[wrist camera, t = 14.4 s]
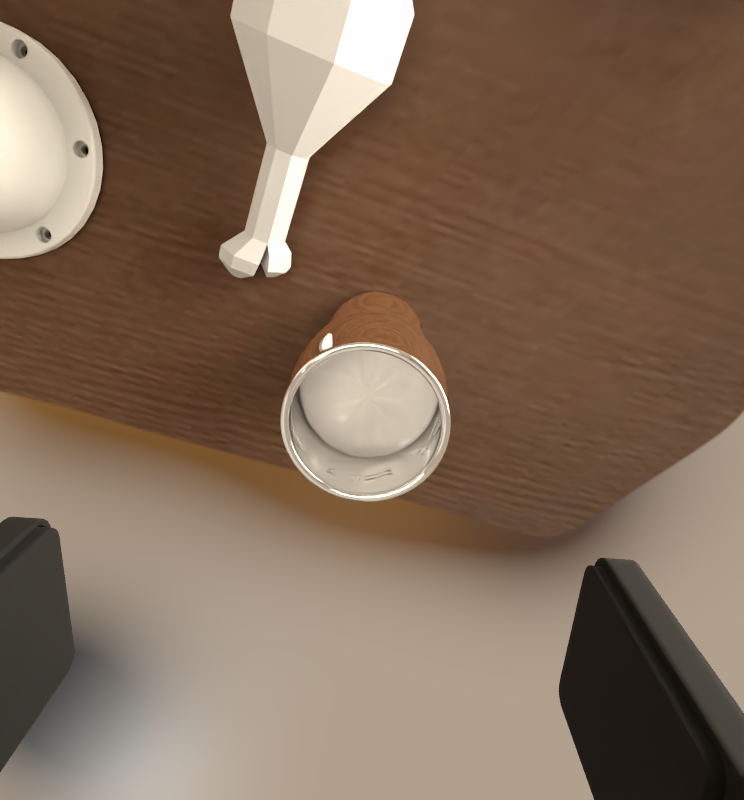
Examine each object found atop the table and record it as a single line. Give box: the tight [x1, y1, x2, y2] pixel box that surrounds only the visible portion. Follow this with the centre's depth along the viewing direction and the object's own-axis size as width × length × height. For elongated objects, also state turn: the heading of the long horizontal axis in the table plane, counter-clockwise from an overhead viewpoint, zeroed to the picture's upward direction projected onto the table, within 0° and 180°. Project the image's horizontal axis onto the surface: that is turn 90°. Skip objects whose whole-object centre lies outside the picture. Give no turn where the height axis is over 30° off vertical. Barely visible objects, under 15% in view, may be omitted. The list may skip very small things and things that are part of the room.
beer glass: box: [280, 292, 451, 502], centre depth 28 cm, size 7×7×15 cm
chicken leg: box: [219, 0, 414, 278], centre depth 29 cm, size 8×18×8 cm, turn 159°
